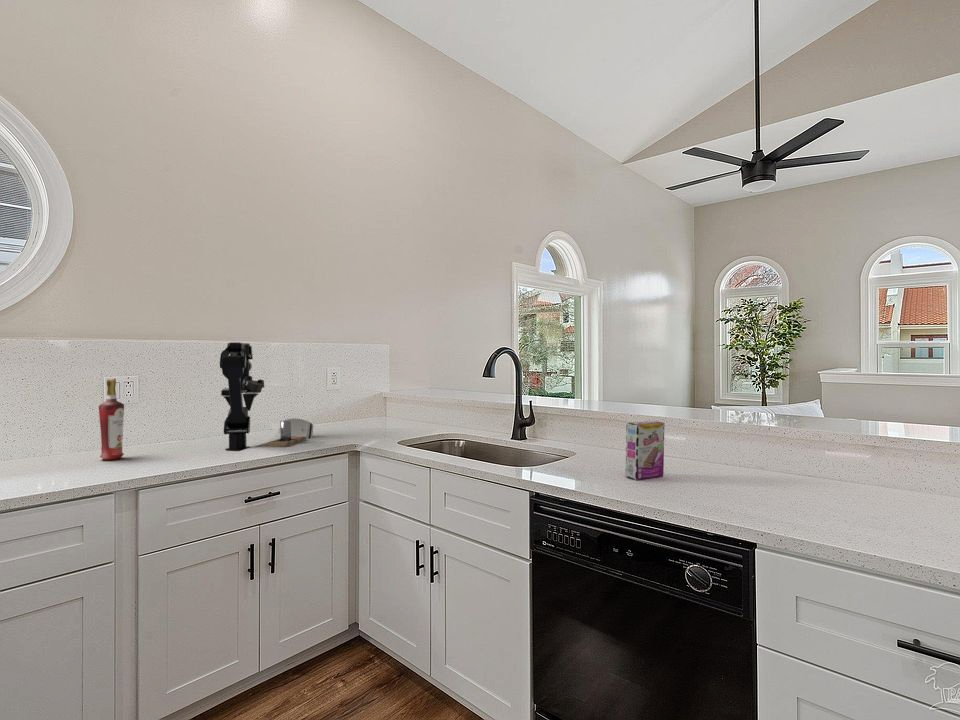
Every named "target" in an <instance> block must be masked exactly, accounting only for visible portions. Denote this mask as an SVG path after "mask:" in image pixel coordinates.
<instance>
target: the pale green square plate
mask: <svg viewBox="0 0 960 720" xmlns="http://www.w3.org/2000/svg"><path fill="white" fill-rule="evenodd" d="M327 443H328V442H325V441H324V442H319V441H316V442H315V441H307V442H305V443H302V444H298V446H299V447H300V446H301V447H306V446H307V447H320V446H322V445H324V444H327Z"/></svg>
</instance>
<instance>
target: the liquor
mask: <svg viewBox="0 0 960 720" xmlns="http://www.w3.org/2000/svg"><path fill="white" fill-rule="evenodd" d="M116 386H117V379H116V378H108V379H106V388H107V390H106V400H105V401H104V402H102V403H100V404H99V405H98V414H99V415H98V418H99V419H98V420H99V431H100V445H101V446H100V448H101V451H100V452H101V454H100V456H99V457H100V458H101V459H103V460H104V461H116V459H117V460H119V459H121V458H122V457H123V456H124V455H125V454H124V453H123V438H124V419H125V417H124V416H125V404H124V403H122V402H120V401H117V400H118V399H117V392H116Z"/></svg>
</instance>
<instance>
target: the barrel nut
mask: <svg viewBox="0 0 960 720" xmlns="http://www.w3.org/2000/svg"><path fill="white" fill-rule="evenodd" d="M279 424H280V425H279V428H280V441H291V421H284V420H280V423H279Z"/></svg>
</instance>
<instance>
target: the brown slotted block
mask: <svg viewBox="0 0 960 720" xmlns="http://www.w3.org/2000/svg"><path fill="white" fill-rule="evenodd" d="M306 441H307V439H306V437H303V436H291V441H280V439H277V440H276V439H274V440H270V441H268V442H266V446H267V447H268V448H269V447H270V448H271V447H272V448H274V447H275V448H288V447H291V446H294V445H297V444H300V443H303V442H306Z"/></svg>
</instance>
